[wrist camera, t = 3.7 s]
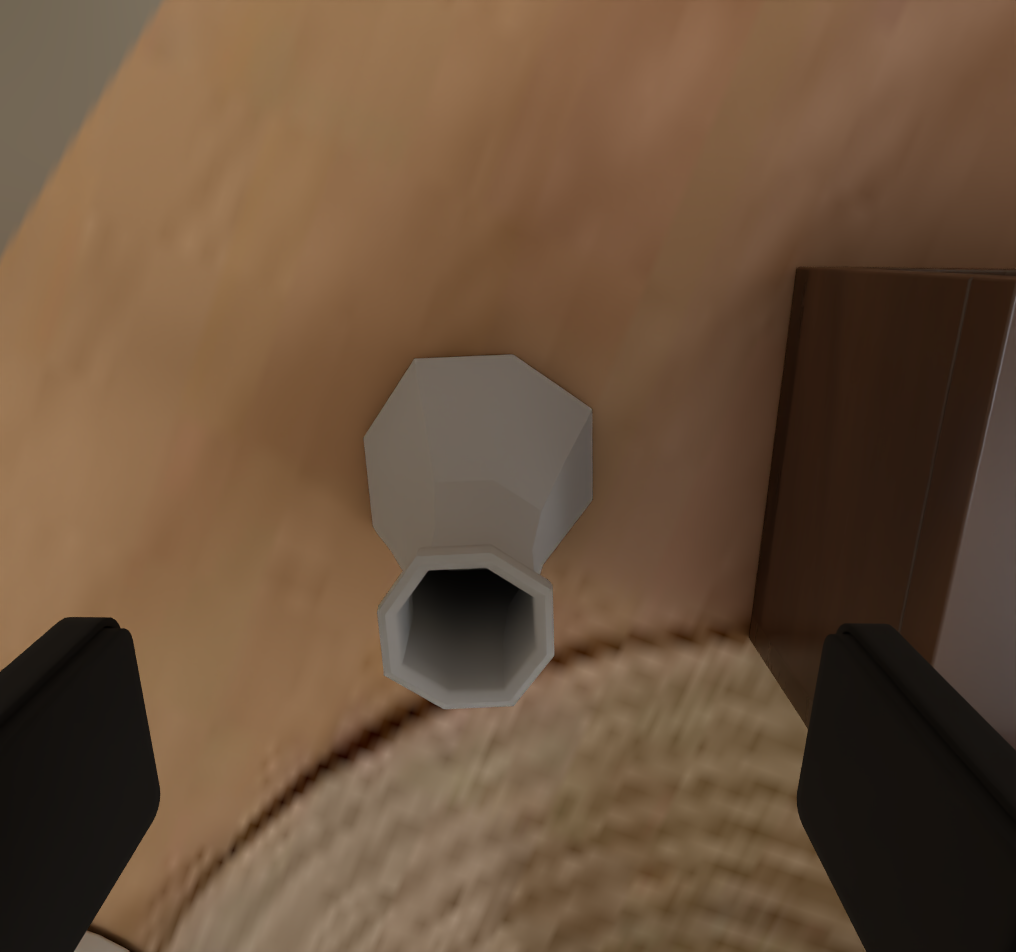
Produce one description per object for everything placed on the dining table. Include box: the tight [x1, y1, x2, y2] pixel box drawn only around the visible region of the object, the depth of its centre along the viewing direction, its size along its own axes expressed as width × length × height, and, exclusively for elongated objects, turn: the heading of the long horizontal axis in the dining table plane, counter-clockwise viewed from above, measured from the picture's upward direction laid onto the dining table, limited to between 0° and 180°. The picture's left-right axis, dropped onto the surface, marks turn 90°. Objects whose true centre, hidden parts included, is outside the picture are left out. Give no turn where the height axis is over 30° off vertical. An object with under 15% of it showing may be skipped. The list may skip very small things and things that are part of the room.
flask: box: [363, 354, 593, 709], centre depth 17 cm, size 7×7×10 cm
